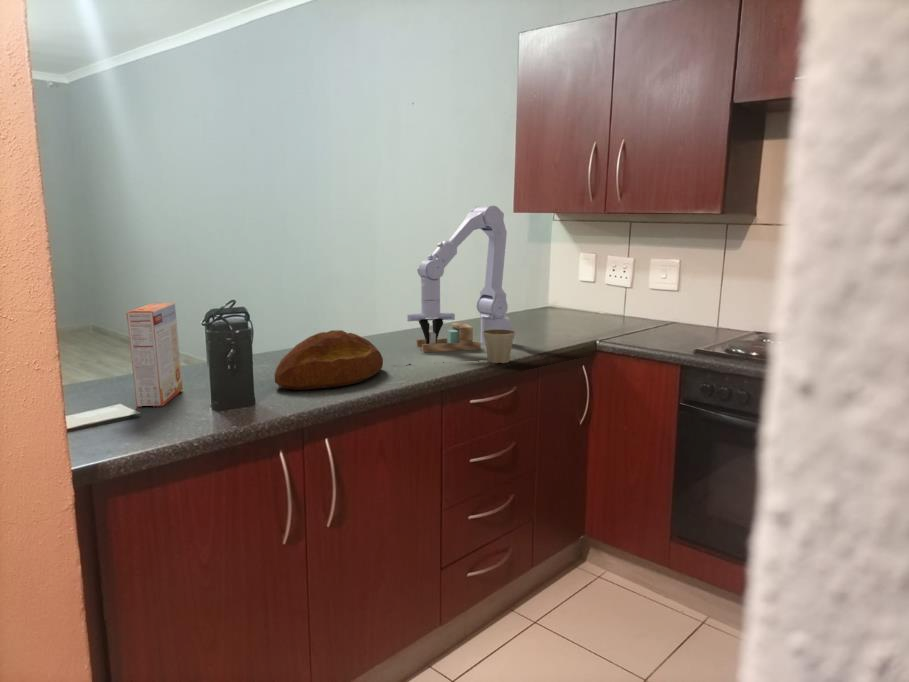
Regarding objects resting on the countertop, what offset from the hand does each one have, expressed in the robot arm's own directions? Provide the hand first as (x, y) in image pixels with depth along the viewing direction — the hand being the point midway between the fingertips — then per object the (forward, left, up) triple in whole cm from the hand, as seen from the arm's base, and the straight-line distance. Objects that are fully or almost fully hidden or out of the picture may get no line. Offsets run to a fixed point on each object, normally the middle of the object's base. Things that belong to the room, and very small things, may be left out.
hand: (431, 343), depth 202 cm
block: (-8, 0, -1) cm, 8 cm away
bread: (+32, +30, -3) cm, 44 cm away
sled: (-5, 0, -2) cm, 5 cm away
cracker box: (+71, +40, -2) cm, 81 cm away
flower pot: (-15, +20, -2) cm, 25 cm away
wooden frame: (-5, 0, -2) cm, 6 cm away
